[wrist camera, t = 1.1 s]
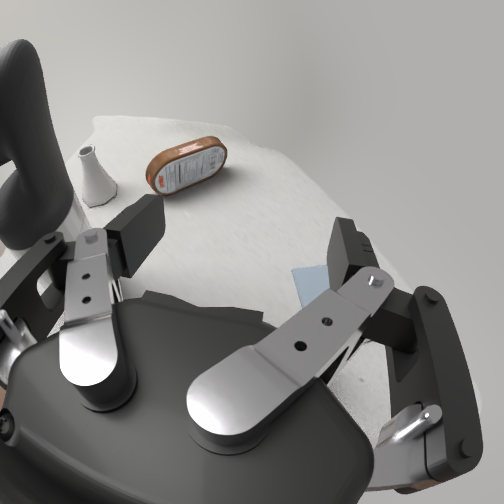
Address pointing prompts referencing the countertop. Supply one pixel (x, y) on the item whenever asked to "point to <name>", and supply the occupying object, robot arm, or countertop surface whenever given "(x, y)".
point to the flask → (95, 179)
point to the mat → (311, 283)
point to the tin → (186, 165)
